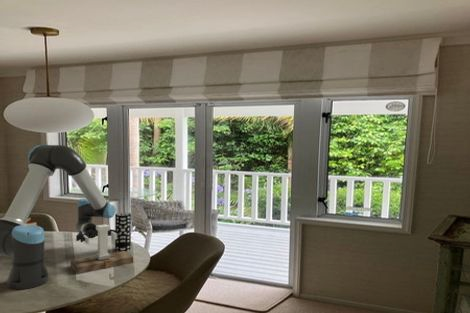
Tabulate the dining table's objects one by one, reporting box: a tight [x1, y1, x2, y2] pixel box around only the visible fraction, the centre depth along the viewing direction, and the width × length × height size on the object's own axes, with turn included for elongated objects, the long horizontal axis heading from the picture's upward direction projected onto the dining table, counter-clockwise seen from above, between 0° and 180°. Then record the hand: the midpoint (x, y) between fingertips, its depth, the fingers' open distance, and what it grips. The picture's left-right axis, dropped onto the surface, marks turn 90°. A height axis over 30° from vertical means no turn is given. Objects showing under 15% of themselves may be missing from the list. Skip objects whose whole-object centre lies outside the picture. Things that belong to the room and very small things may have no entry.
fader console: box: [70, 251, 134, 275], centre depth 169 cm, size 26×12×3 cm, turn 129°
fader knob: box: [94, 223, 111, 260], centre depth 169 cm, size 5×6×16 cm
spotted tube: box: [114, 212, 132, 253], centre depth 194 cm, size 8×8×20 cm
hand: (102, 238), depth 171 cm, fingers open, 13 cm apart
